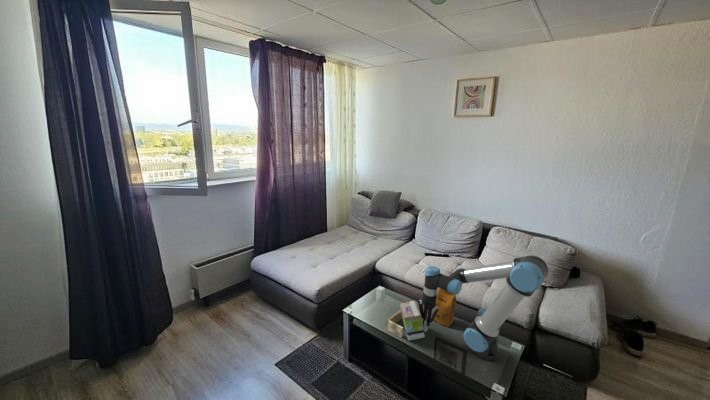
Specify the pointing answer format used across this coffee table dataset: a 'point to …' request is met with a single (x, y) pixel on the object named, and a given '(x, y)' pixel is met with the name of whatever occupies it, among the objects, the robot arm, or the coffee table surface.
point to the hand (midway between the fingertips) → (425, 330)
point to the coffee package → (445, 307)
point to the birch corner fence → (393, 326)
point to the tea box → (412, 320)
